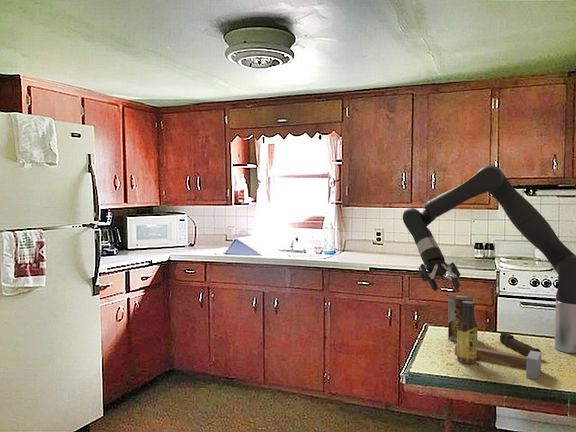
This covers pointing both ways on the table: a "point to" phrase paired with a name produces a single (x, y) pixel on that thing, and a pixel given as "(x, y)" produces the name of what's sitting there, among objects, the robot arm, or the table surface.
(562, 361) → the table surface
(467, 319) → the sauce bottle
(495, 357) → the walnut straightedge
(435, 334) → the table surface
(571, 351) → the robot arm
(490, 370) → the table surface
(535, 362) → the end stop
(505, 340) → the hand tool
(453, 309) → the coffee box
